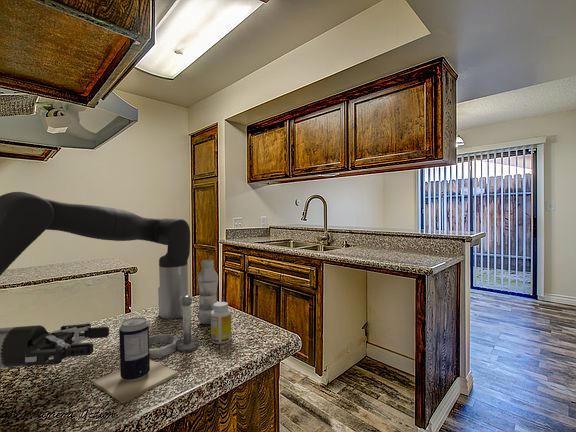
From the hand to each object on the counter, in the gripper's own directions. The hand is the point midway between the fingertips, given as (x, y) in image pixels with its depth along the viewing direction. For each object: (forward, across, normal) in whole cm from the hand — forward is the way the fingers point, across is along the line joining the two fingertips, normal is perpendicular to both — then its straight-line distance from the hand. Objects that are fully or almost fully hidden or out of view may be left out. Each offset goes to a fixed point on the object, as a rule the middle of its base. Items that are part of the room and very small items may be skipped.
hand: (101, 339), depth 65 cm
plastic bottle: (+20, +30, +9) cm, 38 cm away
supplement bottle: (+24, +16, +9) cm, 31 cm away
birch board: (+7, 0, +9) cm, 11 cm away
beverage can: (+6, 0, +9) cm, 11 cm away
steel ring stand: (+11, +14, +9) cm, 20 cm away
